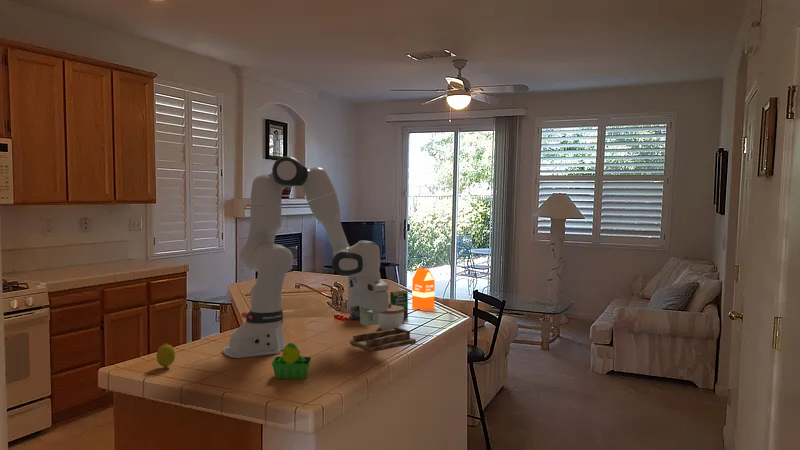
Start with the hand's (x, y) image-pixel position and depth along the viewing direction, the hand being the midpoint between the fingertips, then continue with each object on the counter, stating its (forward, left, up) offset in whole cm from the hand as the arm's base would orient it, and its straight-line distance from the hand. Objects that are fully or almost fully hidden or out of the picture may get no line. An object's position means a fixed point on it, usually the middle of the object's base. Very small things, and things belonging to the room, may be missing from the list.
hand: (369, 319), depth 206 cm
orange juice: (+64, +45, -10) cm, 79 cm away
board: (+7, 0, -10) cm, 12 cm away
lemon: (-69, +16, -10) cm, 71 cm away
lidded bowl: (+22, +17, -10) cm, 30 cm away
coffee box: (+37, +30, -10) cm, 49 cm away
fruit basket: (-40, -16, -10) cm, 44 cm away
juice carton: (+24, +43, -10) cm, 50 cm away
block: (0, 0, -2) cm, 2 cm away
